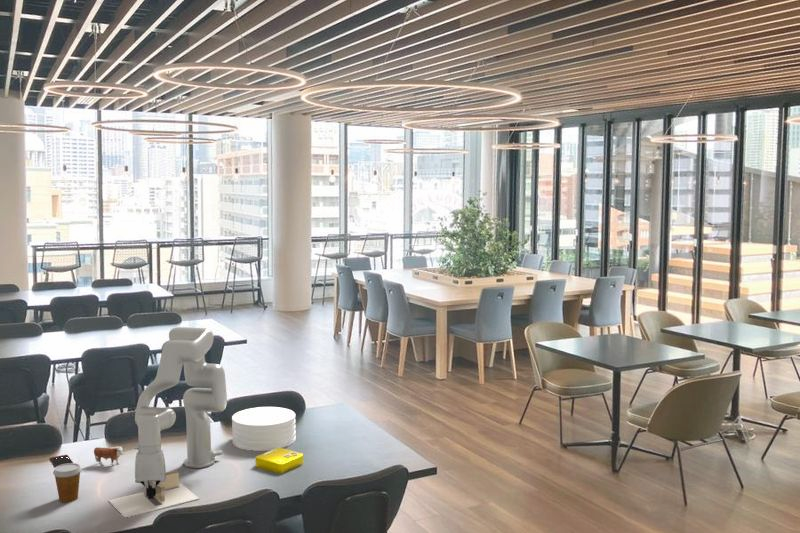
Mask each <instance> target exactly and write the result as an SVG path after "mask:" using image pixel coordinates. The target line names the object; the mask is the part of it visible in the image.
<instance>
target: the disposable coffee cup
mask: <svg viewBox="0 0 800 533" xmlns="http://www.w3.org/2000/svg"><path fill="white" fill-rule="evenodd" d="M81 471H82V467H81V465H80V464H79V463H74V462H73V463H67V464H62V465H59V466H57V467H54V469H53V472H52V474H53V475H54V479H55V484H56V490H57V495H58V500H59V501H60V502H62V503H70V502H71V503H72V502H74V501H77V500H78V498H79V488H80V480H81V479H80V477H81Z"/></svg>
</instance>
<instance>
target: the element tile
mask: <svg viewBox="0 0 800 533" xmlns="http://www.w3.org/2000/svg"><path fill="white" fill-rule="evenodd" d="M254 460H255V467H256V468H258V469H261V470H265V471H269V472H272V473H275V474H284V473H286V472H289V471H291V470H292V469H293V470H294V469H296V468H297V467H300V466H301V465H303V464H304V454H303V453H302V452H298V451H295V450H290V449H286V448H275V449H273V450H267V451H265V452H263V453H261V454H258V455H256V456H255V458H254Z"/></svg>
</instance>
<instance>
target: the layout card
mask: <svg viewBox="0 0 800 533" xmlns="http://www.w3.org/2000/svg"><path fill="white" fill-rule="evenodd" d="M179 475H180V474H179V470H173V471H168V472H167V471H166V474H165V476H166V481H164V482H160V483H159V484H160V485H162V486H164V495H165V501H164V502H160V501H158V500H157V499H155V498H153V499H148V496H147V494H146V488H145V486H144V485H143V491H141V492H138V493H133V494H129V495H126V496H120V497H117V498H113V499H108V502H109V503H110V504H111V506H113V508H114V509H115V508H116V509H117V510H118V511H119V512H120V513H121V514H120V513H119V512H118V511H117V512H118V513H119V514H120V515H121V516H122V517H123V518H124V517H125V518H124V519H127V518H126V517H128V518H130V517H131V516H132V517H136V516H139V515H143V514H147V513H150V512H155V511H159V510H163V509H167V508H171V507H175V506H178V505H181V504H186V503H190V502H194V501H197V500H200V498H199V497H198V496H197V495H196V494H194V492H192V491H190V489H188V488H187V487H186V486H185V485H183V484H182V483H181V482H180V479H179ZM116 509H115V510H116ZM135 515H136V516H135Z"/></svg>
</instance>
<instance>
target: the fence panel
mask: <svg viewBox="0 0 800 533" xmlns="http://www.w3.org/2000/svg"><path fill="white" fill-rule="evenodd" d="M152 482H153V481H150V485H151V486H152ZM154 498H155V499H157V500H158V501H160V502H164V501H165V495H164V486H162V485H160V484H158V485H157V486H156V495H155V496H154Z"/></svg>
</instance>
